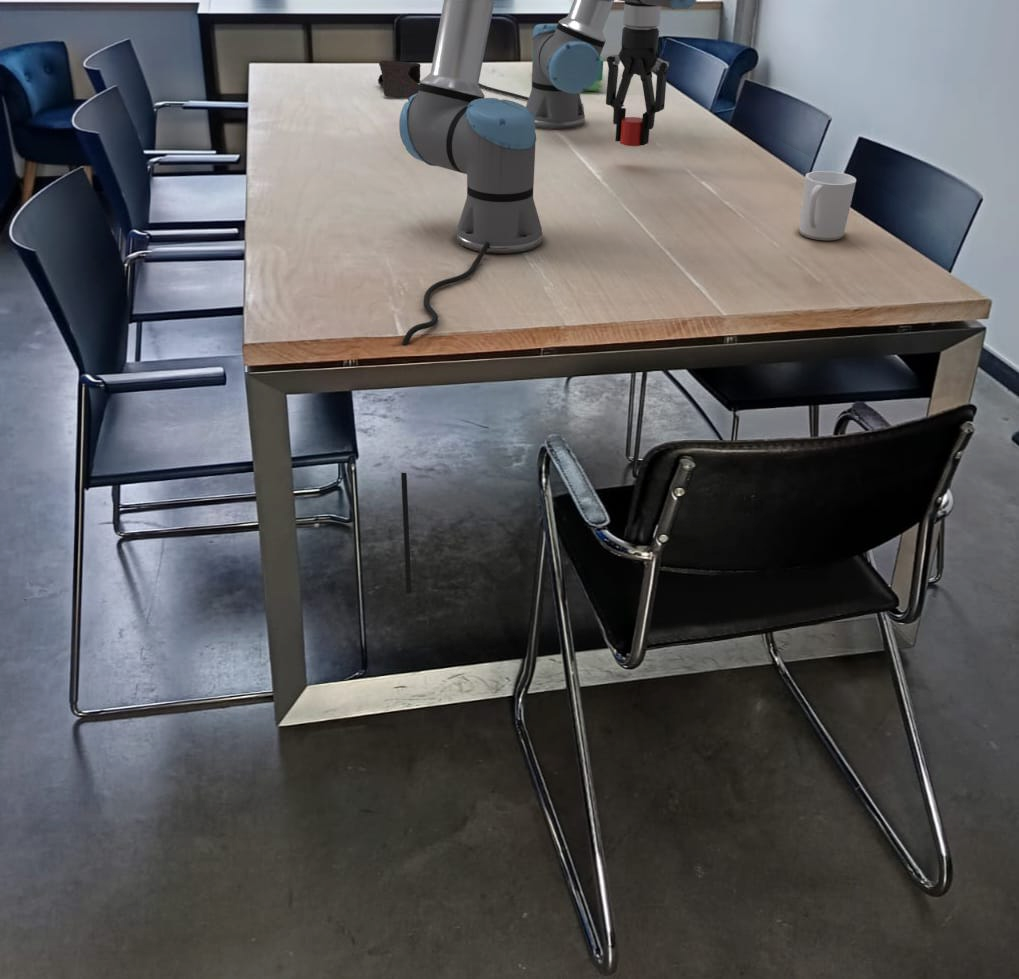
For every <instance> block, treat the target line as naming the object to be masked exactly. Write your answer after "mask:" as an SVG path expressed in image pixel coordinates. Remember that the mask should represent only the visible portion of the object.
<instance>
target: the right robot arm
mask: <svg viewBox="0 0 1019 979" xmlns="http://www.w3.org/2000/svg"><path fill="white" fill-rule="evenodd" d="M614 2H615V0H611V1H609V2H607V1H597V0H573V1H572V4H571V6H570V9H569V12H568V15H566V17H563V18H562V19H560V20H558V22H557V23H539V24H536V25H535V26H534V28H533V34H532V37H531V38H532V39H531V40H532V44H533V60H532V59H531V63H532V64H531V66H532V67H531V90H530V93H529V96H525V95H521V94H518V93H514V92H510V91H505V90H503V89H502V90H501V89H498V88H495V87H491V86H487V85H484V84H482V83H480V82H479V83H478V84H479V87H480V88H481V89H485V90H487V91H491V92H493V93H494V92H495V93H498V94H502V95H506V96H510V97H513V98H517V99H521V100H525V101H527V103H526V104H525V107H526V108H528V109H529V110H530V111H531V112H532V114H533V116H534V120H535V128H538V129H544V130H571V129H577V128H580V127H582V126H584V125H585V121H586V120H585V119H586V115H585V106H584V103H583V102H582V99H581V95H580V94H581V93H583V92H586V91H585V90H587V89H589V88H590V87H591V86H592V85H593V84H594V83H595V82H596V80H597V78H598V76H599V73H600V68H601V61H600V56H601V55H602V52H603V50H604V46H605V45H606V41H607V39H606V36H605V34H604V28H605V26H606V23H607V21H608V18H609V15H610V13H611V10H612V8H613V5H614Z"/></svg>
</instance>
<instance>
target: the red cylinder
mask: <svg viewBox="0 0 1019 979" xmlns="http://www.w3.org/2000/svg"><path fill="white" fill-rule="evenodd" d="M642 118H643V117H638V116H625V118H622V121H621V135H620V141H619V144H621V146H627V147H641V146H642V145H640V142H641V130H642Z"/></svg>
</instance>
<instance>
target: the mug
mask: <svg viewBox="0 0 1019 979" xmlns="http://www.w3.org/2000/svg"><path fill="white" fill-rule="evenodd" d="M856 183H857V178H856V177H855V176H853V175H851V174H848V173H844V172H840V171H832V170H816V171H809V172H807V173H806V174H805V177H804V184H803V194H802V203H801V212H800V219H799V228H798V232H799V234H800V235H802V236H803V237H805V238H809V239H812V240H817V241H836V240H840V239H842V238H843V237H844V236H845V230H846V227H847V221H848V217H849V215H850V214H849V213H850V209H851V205H852V201H853V196H854V193H855V189H856Z"/></svg>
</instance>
